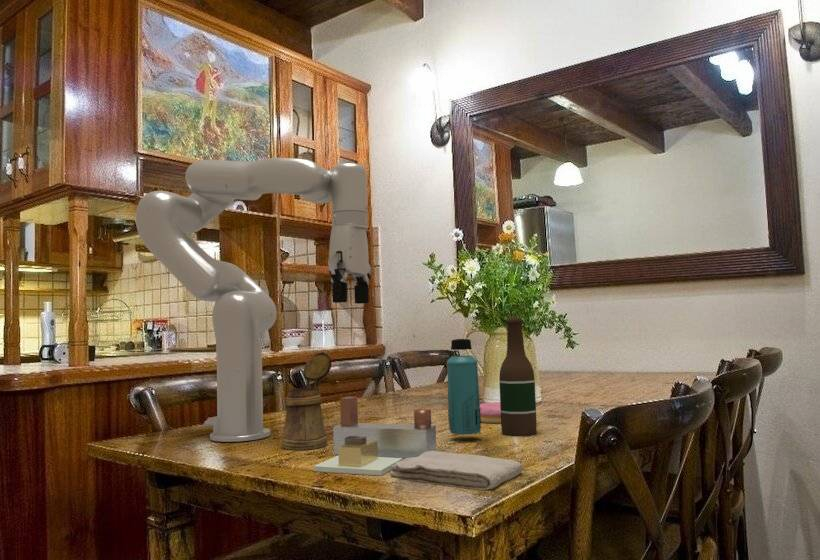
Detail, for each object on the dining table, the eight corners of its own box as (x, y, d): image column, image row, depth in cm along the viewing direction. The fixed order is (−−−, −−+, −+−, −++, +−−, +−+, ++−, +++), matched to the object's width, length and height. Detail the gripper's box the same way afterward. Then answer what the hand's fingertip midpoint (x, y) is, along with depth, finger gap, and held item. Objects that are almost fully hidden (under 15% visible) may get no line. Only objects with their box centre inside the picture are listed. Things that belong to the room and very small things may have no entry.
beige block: (338, 465, 102) (338, 440, 102) (356, 457, 108) (355, 433, 108) (361, 467, 100) (360, 441, 101) (377, 458, 106) (377, 434, 107)
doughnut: (529, 423, 145) (528, 404, 145) (483, 426, 142) (483, 407, 142) (510, 416, 155) (509, 399, 156) (468, 419, 153) (467, 402, 153)
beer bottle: (543, 431, 132) (538, 316, 134) (529, 437, 126) (524, 317, 127) (509, 429, 136) (504, 317, 138) (494, 435, 130) (489, 318, 131)
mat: (313, 471, 102) (313, 466, 102) (339, 459, 110) (339, 454, 110) (380, 475, 98) (380, 470, 98) (402, 463, 106) (402, 458, 106)
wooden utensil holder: (344, 438, 131) (342, 351, 132) (314, 451, 118) (312, 355, 120) (306, 437, 134) (304, 352, 135) (272, 449, 121) (271, 355, 122)
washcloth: (426, 464, 106) (425, 446, 107) (526, 476, 97) (525, 455, 97) (385, 481, 96) (384, 460, 97) (492, 495, 87) (491, 472, 87)
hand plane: (333, 454, 115) (332, 399, 115) (346, 449, 119) (345, 395, 120) (426, 459, 108) (425, 400, 109) (436, 453, 113) (434, 397, 113)
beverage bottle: (480, 442, 122) (476, 338, 123) (446, 442, 123) (442, 339, 125) (483, 436, 128) (479, 337, 130) (450, 436, 130) (447, 338, 131)
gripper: (353, 229, 144) (354, 304, 142) (313, 218, 128) (314, 302, 126) (383, 226, 141) (384, 303, 140) (346, 214, 125) (347, 301, 124)
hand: (351, 302), depth 133 cm, fingers open, 9 cm apart
